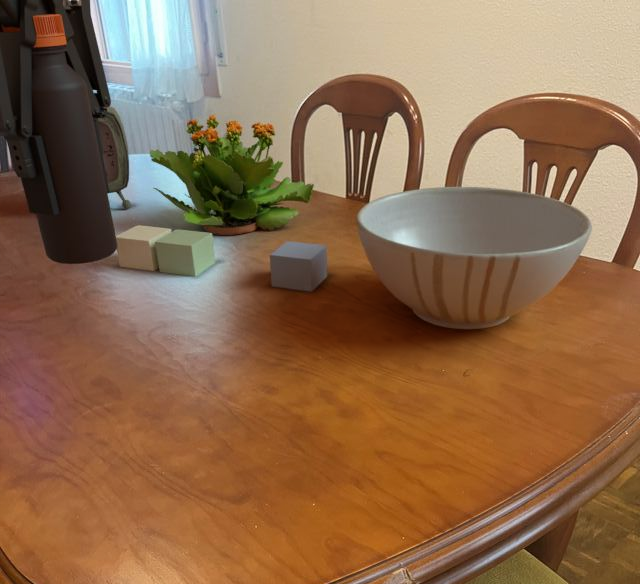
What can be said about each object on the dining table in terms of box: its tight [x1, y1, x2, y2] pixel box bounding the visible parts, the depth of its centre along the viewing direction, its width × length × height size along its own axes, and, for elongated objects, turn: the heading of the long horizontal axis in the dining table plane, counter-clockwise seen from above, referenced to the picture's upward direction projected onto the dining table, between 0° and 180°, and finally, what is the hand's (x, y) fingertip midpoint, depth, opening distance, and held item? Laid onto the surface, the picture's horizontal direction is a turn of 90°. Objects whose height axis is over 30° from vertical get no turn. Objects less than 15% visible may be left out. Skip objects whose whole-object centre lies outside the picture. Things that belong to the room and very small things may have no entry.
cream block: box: [116, 224, 173, 272], centre depth 99 cm, size 6×6×5 cm
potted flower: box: [149, 114, 315, 236], centre depth 110 cm, size 25×24×18 cm
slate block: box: [269, 240, 328, 292], centre depth 91 cm, size 6×6×5 cm
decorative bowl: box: [355, 186, 593, 330], centre depth 80 cm, size 27×27×12 cm
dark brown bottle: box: [1, 14, 118, 265], centre depth 59 cm, size 7×7×20 cm
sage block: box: [155, 228, 216, 277], centre depth 96 cm, size 6×6×5 cm
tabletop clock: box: [98, 105, 132, 210], centre depth 120 cm, size 14×9×25 cm, turn 104°
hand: (71, 201), depth 62 cm, fingers closed on dark brown bottle, 7 cm apart
